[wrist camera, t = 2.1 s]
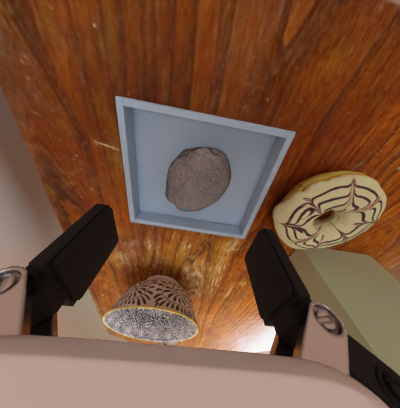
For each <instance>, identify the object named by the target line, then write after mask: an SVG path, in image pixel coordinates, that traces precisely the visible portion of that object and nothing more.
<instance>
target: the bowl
mask: <svg viewBox="0 0 400 408" xmlns="http://www.w3.org/2000/svg"><path fill="white" fill-rule="evenodd" d="M102 319H103V323H104V324H105V325H106V326H107V327H108V328H109V329H111V330H113V331H115V332H117V333H119V334H122V335H124V336H128V337H131V338H135V339H139V340H145V341H153V342H179V341H184V340H188V339H191V338H193V337H194V336H196V335H197V333H198V331H199V328H198V325H197V322H196V319H195V315H194V311H193V306H192V303H191V300H190V298H189V296H188V294H187V293H186V292H185V290H184V289H183V288H182V287H180V286H179V284H178V282H177V281H176V280H175V279H173V278H171V277H169V276H164V275H154V276H151V277H149V278H148V279H147V280H144V281H141V282H139V283H137V284H135V285H134V286H132V287H131V288H129V289H128V290H127V291H126V292H125V293H124V294H123V295H122V296H121V298H120V299H119V300H118V301H117V302H116V303H115V305H114V306H113V307H112V308H111V309H110V310H109V311H108V312H106V313H105V314H104V316H103V318H102Z"/></svg>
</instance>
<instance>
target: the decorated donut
mask: <svg viewBox="0 0 400 408" xmlns="http://www.w3.org/2000/svg"><path fill="white" fill-rule="evenodd" d="M386 199H387V197H386V195H385V193H384V191H383V190H382V188H381V187H380V185H379V183H378V182H377V181H376V180H375V179H373V178H371V177H369V176H367V175H365V174H363V173H361V172H349V171H333V172H327V173H322V174H317V175H315V176H312V177H309V178H307V179H305V180H303V181H301V182H300V183H298V184H296V185H295V186H294V187H293V188H292V189H291V190H290V191H289V192H288V193H287V194H286V195H285V197H284V198H283V199H282V200H281V201H280V203H279V204H278V205H276V206H275V208H274V210H273V220H274V227H275V230H276V232H277V234H278V236H279V238H280V239H281V240H282V241H283V242H284V243H285V244H286V245H288V246H289V247H291V248H295V249H311V250H313V249H326V248H330V247H333V246H335V245H338V244H342V243H345V242H347V241H349V240H352V239H354V238H355V237H357V236H359V235H360V234H362V233H363V232H365V231H367V230H368V229H369V228H370V227H371V226H372V225H373V224H374V223H375V222H376V221H377V220H378V219H379V218H380V216H381V214H382V212H383V211H384V209H385V206H386Z"/></svg>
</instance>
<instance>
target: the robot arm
mask: <svg viewBox="0 0 400 408" xmlns="http://www.w3.org/2000/svg"><path fill="white" fill-rule="evenodd" d="M117 243H118V235H117V230H116V225H115V220H114V215H113V210H112V208H110V206H109V205H104V204H96V205H95V206H94V207H92V208H91V209H90V210H89V211H88V212H87V213H86V214H84V215H83V216H82V217H81V218H80V219H79V220H78V221H76V222H75V223H74V224H73V225H72V226H71V227H70V228H68V229H67V230H66V231H65V232H64V233H63V234H62V235H60V237H58V238H57V239H56V240H55V241H53V242H52V243H51V244H50V245H49V246H48V247H47V248H45V249H44V250H43V251H42V252H41V253H40V254H39V255H37V256H36V257H35V258H34V259H33V260H32V261H31V262H29V265H28V266H27V267H26V268H24V267H20V266H11V267H7V268H3V269H0V408H400V376H399V375H398V374H397V373H396V372H395V371H394V370H393V369H391V368H390V367H389V366H387V365H386V364H385V363H384V362H382V361H381V360H380V359H379V358H377V357H376V356H375V355H374V354H372V353H371V352H370V351H369V350H367V349H366V348H365V347H364V346H362V345H361V344H360V343H359V342H357V341H356V340H355V339H354V338H352V337H351V336H350V335H349V334H348V333H347V329H346V326H345V324H344V322H343V321H342V319H341V318H340V316H339V315H338V314H337V313H336V312H335V311H334V310H333V309H332V308H331V307H329V306H328V305H326V304H325V303H323V302H320V301H312V300H311V299H310V297H311V296H310V294H309V292H308V290H307V289H306V287H305V285H304V283H303V282H302V280H301V278H300V276H299V275H298V273H297V271H296V269H295V268H294V266H293V264H292V262H291V261H290V259H289V257H288V255H287V254H286V252H285V250H284V248H283V247H282V245H281V243H280V241H279V240H278V238H277V236H276V234H275V233H274V231H273V230H271V229H264V228H263V229H262V230H259V231H258V233H257V235H256V237H255V239H254V241H253V243H252V244H251V246H250V248H249V250H248V252H247V254H246V256H245V262H246V266H247V270H248V273H249V277H250V281H251V285H252V288H253V292H254V296H255V299H256V303H257V307H258V311H259V314H260V317H261V318H262V319H263V320H264V324H265V326H274V328H275V331H276V335H275V339H274V342H273V345H272V348H271V351H270V355H268V354H259V353H248V352H237V351H226V350H215V349H204V348H192V347H180V346H169V345H157V344H145V343H133V342H120V341H108V340H96V339H83V338H71V337H58V328H57V312H58V310H59V309H60V307H61V306H62V305H65V306H73V305H74V304H75V303H76V301H77V300H80V299H81V298H82V297H83V295H84V294H85V292H86V291H87V289H88V288H89V286H90V284H91V283H92V281H93V280H94V278H95V277H96V275H97V274H98V272H99V271H100V269H101V268H102V266H103V265H104V263H105V261H106V260H107V258H108V257H109V255H110V254H111V252H112V251H113V249H114V248H115V246H116V245H117Z"/></svg>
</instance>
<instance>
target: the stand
mask: <svg viewBox="0 0 400 408" xmlns="http://www.w3.org/2000/svg"><path fill="white" fill-rule="evenodd" d="M289 259H290V261H291V262H292V264H293V266H294V268H295V269H296V271H297V273H298V275H299V276H300V278H301V280H302V282H303V283H304V285H305V287H306V289H307V290H308V292H309V294H310V296H311V297H310V299H311V300H312V301H320V302H323V303H325V304H326V305H328V306H329V307H331V308H332V309H333V310H334V311H335V312H336V313H337V314H338V315H339V316H340V318H341V319H342V321H343V322H344V324H345V326H346V329H347V333H348V334H349V335H350V336H351V337H352V338H354V339H355V340H356V341H357V342H359V343H360V344H361V345H362V346H364V347H365V348H366V349H367V350H369V351H370V352H371V353H372V354H374V355H375V356H376V357H377V358H379V359H380V360H381V361H382V362H384V363H385V364H386V365H387V366H389V367H390V368H391V369H393V370H394V371H395V372H396V373H397V374H398V375H399V376H400V282H399V281H398V280H397V279H396V278H395V277H393V276H392V275H391V274H390V273H389V272H388V271H387V270H386V269H384V268H383V267H382V266H381V265H380V264H379V263H378V262H377V261H375V260H374V259H373V258H372V257H371V256H370V255H366V254H359V253H353V252H346V251H340V250H333V249H327V248H326V249H313V250H311V249H295V251H294V252H293V253H292V254H291V256H290V257H289Z"/></svg>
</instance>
